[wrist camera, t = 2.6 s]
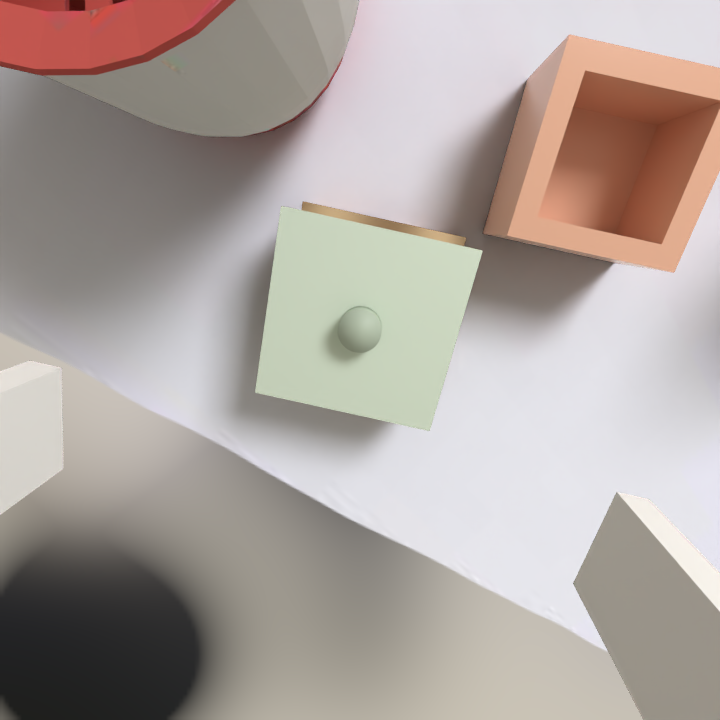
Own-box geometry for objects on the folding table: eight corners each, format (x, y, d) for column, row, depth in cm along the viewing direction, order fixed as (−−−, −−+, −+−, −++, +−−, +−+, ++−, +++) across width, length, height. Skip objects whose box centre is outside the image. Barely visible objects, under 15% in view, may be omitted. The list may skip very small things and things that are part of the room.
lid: (268, 375, 28) (248, 400, 24) (293, 208, 25) (275, 204, 21) (425, 410, 28) (431, 440, 24) (472, 247, 25) (488, 252, 21)
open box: (482, 233, 27) (507, 235, 22) (527, 78, 25) (569, 34, 19) (614, 263, 28) (674, 272, 22) (675, 111, 25) (761, 77, 19)
